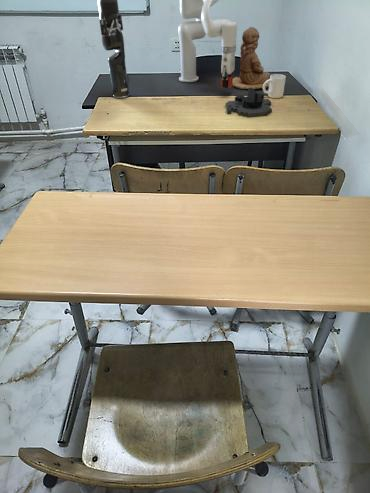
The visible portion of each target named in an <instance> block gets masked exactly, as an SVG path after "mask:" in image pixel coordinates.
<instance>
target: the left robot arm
mask: <svg viewBox="0 0 370 493" xmlns="http://www.w3.org/2000/svg"><path fill="white" fill-rule="evenodd" d="M97 6H98V13H99V27H100V37H101V43H102V47H103V49H104V50H105V51H114V53H113V54H112V55H110V56H109V57H108V58H107V64H108V70H109V75H110V83H111V89H112V97H113V98H114V99H125V98H128V97H130V90H129V89H130V88H129V82H128V81H129V79H128V74H127V66H126V65H127V64H126V50H125V39H124V33H123V32H122V31H124V24H123V18H122V14H119V13H120V8H119V1H118V0H97Z"/></svg>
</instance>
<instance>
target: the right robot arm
mask: <svg viewBox="0 0 370 493" xmlns="http://www.w3.org/2000/svg"><path fill="white" fill-rule="evenodd" d="M218 1H219V0H179V14H180V17H181V18H182V19H183V20H190V19H192V20H190V21H184V22H182V23H179V25H178V27H177V35H178V40H179V52H180V76H179V77H178V81H179V82H181V83H194V82H198V81H199V76H198V75H197V47H196V45H195V43H194V40H201V39H204V38H205V37H206V36H207V37H208V38H210V39H211V38H218V37H221V44H220V45H221V46H220V47H221V48H220V50H221V52H220V53H221V54H222V55H221V64H220V65H221V66H220V68H221V69H220V73H221V77H222V87H221V88H225V89H226V88H227V89H229V88H228V77H233V76H232V73H234V71H235V69H236V68H235V67H236V66H235V65H236V62H235V61H236V50H237V32H238V23H237V22H236V21H231V20H230V19H227V18H223V19H221V18H219V19H212V17H211V14H210V8H211V7H213V6H214V5H215V4H217V2H218ZM193 19H195V20H193ZM226 76H227V77H226Z"/></svg>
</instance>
